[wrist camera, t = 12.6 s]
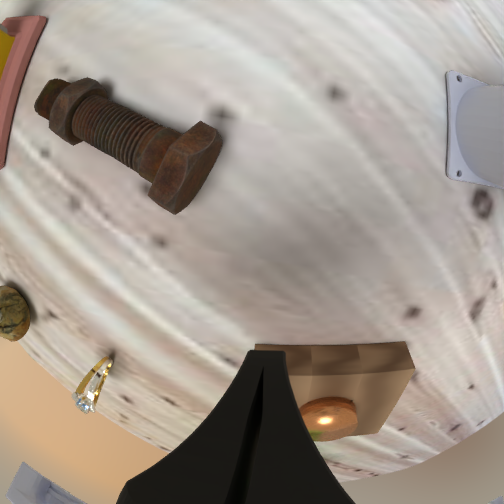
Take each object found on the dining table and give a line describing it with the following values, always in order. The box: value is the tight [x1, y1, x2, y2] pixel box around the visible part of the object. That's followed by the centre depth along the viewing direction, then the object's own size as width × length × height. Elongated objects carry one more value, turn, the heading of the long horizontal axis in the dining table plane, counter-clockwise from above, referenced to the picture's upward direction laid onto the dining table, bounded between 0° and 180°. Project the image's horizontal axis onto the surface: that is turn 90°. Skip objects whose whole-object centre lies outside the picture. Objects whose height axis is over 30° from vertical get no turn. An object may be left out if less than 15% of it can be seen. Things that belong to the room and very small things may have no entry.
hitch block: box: [254, 342, 416, 437], centre depth 24 cm, size 14×12×4 cm
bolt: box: [34, 77, 222, 215], centre depth 15 cm, size 6×5×15 cm
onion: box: [0, 286, 30, 341], centre depth 24 cm, size 8×8×8 cm
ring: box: [72, 356, 113, 413], centre depth 25 cm, size 7×3×8 cm, turn 146°
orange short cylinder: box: [299, 397, 358, 441], centre depth 22 cm, size 6×6×5 cm
